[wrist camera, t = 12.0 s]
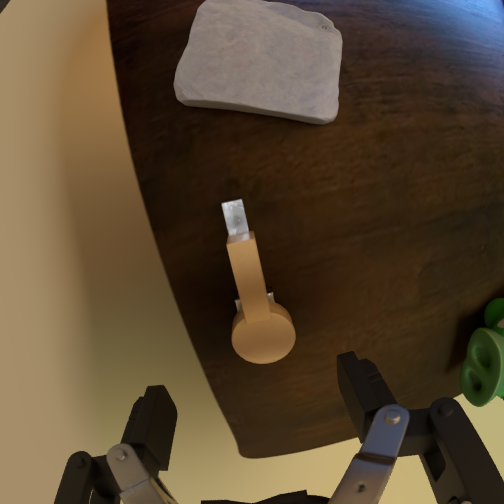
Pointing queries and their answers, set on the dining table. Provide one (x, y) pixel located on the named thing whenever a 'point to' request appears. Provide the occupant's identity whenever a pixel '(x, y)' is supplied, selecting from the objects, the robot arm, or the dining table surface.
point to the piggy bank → (485, 358)
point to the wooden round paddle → (256, 307)
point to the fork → (238, 230)
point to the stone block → (261, 61)
